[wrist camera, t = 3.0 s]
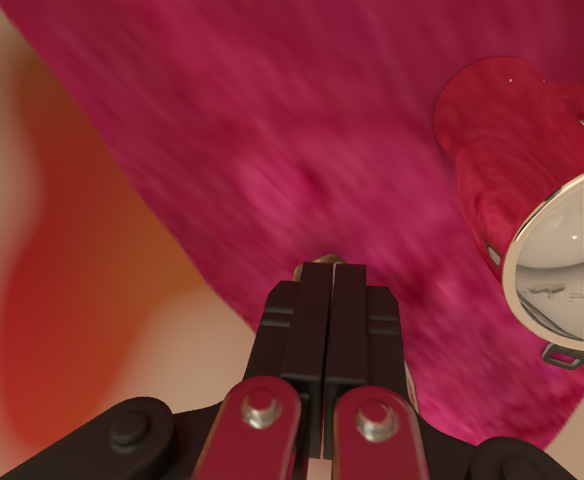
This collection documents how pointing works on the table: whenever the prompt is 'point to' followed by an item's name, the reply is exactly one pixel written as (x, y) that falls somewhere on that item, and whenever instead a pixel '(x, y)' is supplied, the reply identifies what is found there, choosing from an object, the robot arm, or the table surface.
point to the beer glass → (522, 187)
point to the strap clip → (580, 355)
